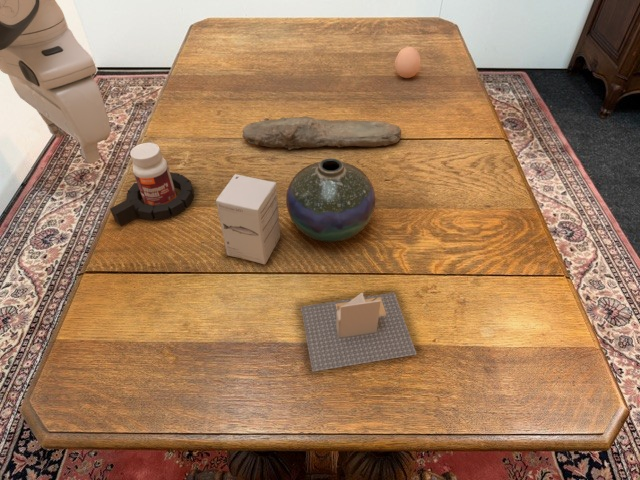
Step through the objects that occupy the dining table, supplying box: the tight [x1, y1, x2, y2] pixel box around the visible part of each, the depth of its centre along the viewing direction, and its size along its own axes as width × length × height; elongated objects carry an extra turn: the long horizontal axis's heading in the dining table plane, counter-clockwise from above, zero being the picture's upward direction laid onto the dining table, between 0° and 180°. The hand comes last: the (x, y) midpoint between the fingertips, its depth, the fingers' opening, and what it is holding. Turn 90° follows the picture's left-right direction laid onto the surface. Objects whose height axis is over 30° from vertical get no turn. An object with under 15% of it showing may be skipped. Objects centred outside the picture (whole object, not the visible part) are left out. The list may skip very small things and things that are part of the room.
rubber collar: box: [109, 171, 194, 227], centre depth 89 cm, size 15×12×3 cm
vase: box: [285, 157, 376, 243], centre depth 81 cm, size 15×15×13 cm
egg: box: [394, 46, 422, 79], centre depth 123 cm, size 7×7×8 cm
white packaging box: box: [215, 173, 281, 265], centre depth 78 cm, size 7×7×13 cm
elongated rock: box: [241, 116, 402, 151], centre depth 104 cm, size 35×5×10 cm
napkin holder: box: [335, 292, 387, 338], centre depth 68 cm, size 3×7×7 cm, turn 100°
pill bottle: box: [129, 142, 177, 206], centre depth 87 cm, size 6×6×11 cm
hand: (75, 146), depth 66 cm, fingers open, 8 cm apart
